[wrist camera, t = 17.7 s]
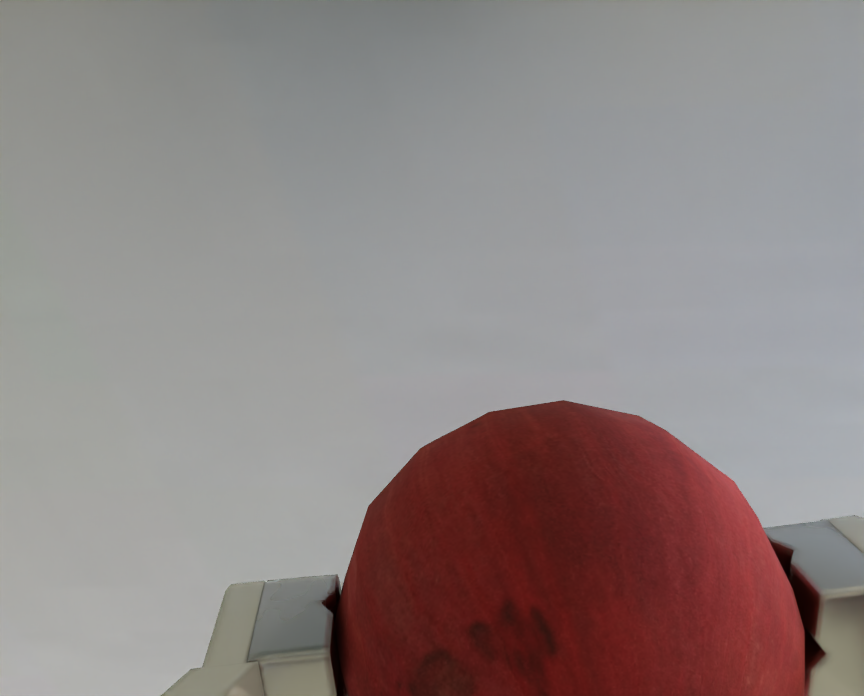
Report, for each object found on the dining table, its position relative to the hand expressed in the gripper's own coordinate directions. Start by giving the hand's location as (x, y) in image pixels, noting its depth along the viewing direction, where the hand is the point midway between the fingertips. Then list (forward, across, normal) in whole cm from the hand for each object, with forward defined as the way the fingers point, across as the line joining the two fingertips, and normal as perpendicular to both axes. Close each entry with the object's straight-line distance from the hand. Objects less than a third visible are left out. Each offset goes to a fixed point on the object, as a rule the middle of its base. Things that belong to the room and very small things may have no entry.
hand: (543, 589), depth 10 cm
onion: (+3, 0, 0) cm, 3 cm away
